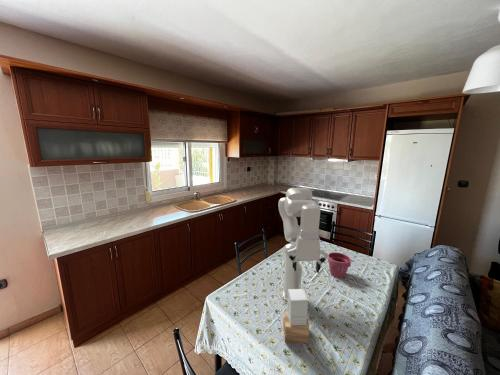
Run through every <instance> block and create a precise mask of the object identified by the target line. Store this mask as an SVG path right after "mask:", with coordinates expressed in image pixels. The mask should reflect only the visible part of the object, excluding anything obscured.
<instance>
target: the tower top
mask: <svg viewBox="0 0 500 375" xmlns="http://www.w3.org/2000/svg"><path fill="white" fill-rule="evenodd" d="M284 317H285V335H291V336H298V337H306V338H310V324H309V318H308V316H307V323H306V325H293V326H290V322H289V319H288V315H287V308H286V309H284Z"/></svg>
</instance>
